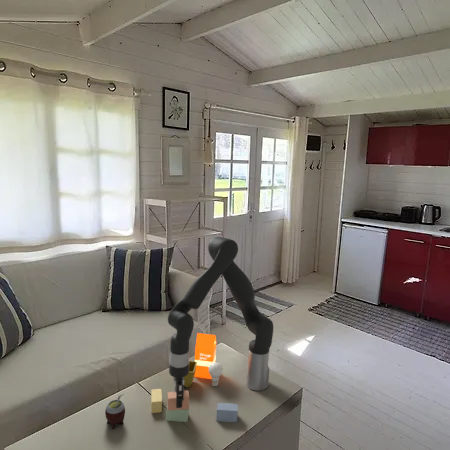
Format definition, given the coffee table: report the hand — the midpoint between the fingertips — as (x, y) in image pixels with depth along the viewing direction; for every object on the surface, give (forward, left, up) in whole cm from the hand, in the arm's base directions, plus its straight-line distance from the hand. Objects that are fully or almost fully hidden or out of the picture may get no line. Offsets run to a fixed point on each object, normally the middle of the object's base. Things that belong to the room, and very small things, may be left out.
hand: (178, 399), depth 136 cm
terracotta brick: (0, 0, -3) cm, 3 cm away
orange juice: (-15, -28, -8) cm, 33 cm away
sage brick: (0, 0, -8) cm, 8 cm away
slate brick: (-19, +3, -8) cm, 21 cm away
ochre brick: (+8, -8, -8) cm, 14 cm away
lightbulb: (-18, -18, -8) cm, 27 cm away
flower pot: (-5, -21, -8) cm, 23 cm away
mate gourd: (+23, 0, -8) cm, 24 cm away
